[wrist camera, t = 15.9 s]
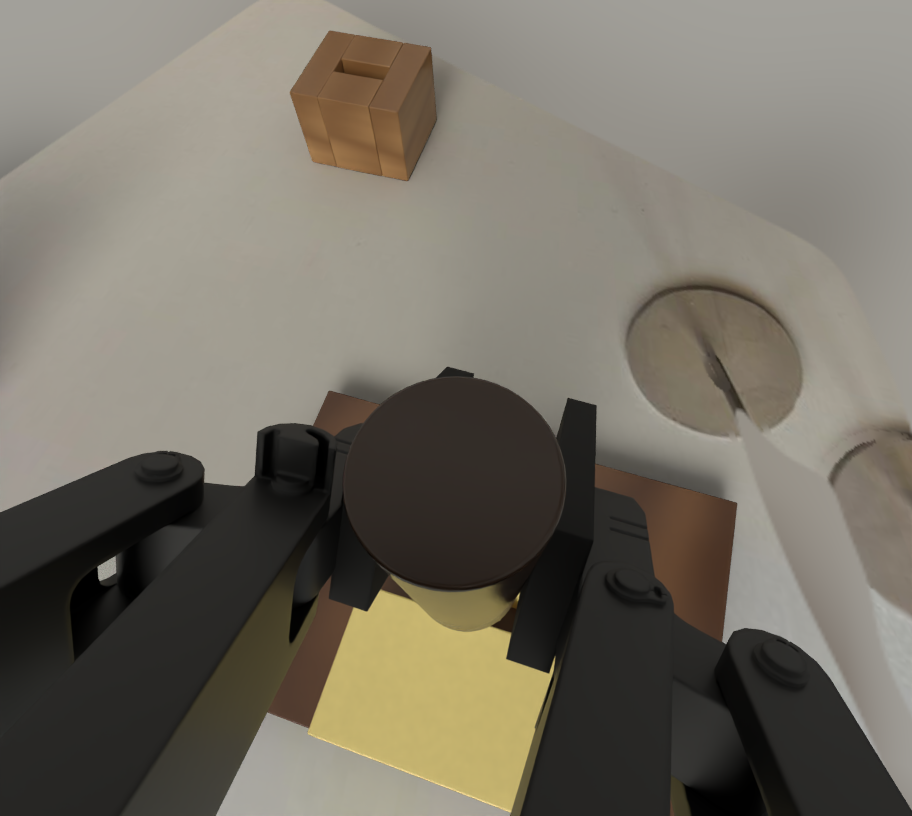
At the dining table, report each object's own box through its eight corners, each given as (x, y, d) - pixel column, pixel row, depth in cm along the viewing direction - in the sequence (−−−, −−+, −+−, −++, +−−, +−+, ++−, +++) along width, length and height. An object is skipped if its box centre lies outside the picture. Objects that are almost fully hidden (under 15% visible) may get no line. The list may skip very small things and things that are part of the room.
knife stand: (437, 119, 38) (431, 46, 34) (408, 181, 36) (397, 112, 31) (346, 103, 39) (328, 29, 35) (312, 162, 37) (289, 92, 32)
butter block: (563, 656, 23) (579, 655, 19) (533, 798, 21) (544, 826, 17) (379, 595, 24) (361, 582, 20) (335, 722, 22) (306, 734, 18)
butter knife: (513, 582, 21) (588, 404, 7) (494, 653, 20) (536, 624, 6) (448, 561, 22) (387, 352, 7) (426, 630, 21) (304, 549, 6)
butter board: (724, 510, 26) (737, 502, 25) (682, 863, 21) (696, 877, 19) (335, 402, 29) (328, 390, 28) (211, 683, 24) (194, 684, 23)
